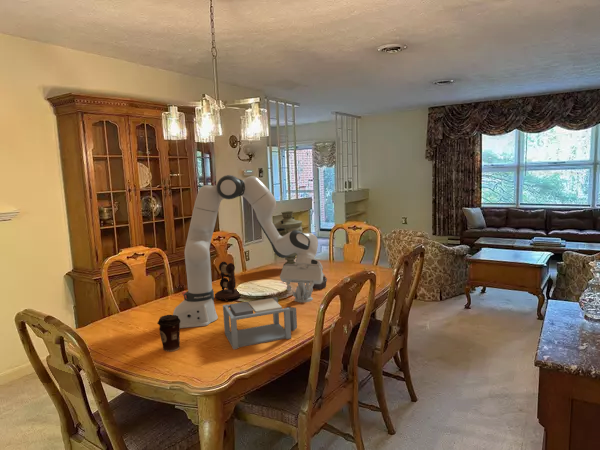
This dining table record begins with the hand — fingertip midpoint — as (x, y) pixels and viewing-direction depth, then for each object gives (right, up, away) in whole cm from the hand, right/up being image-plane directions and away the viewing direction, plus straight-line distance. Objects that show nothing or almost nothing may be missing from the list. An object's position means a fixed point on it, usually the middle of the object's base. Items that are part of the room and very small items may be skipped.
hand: (298, 290), depth 189 cm
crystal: (+3, -10, +33) cm, 34 cm away
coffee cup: (-50, -20, -23) cm, 59 cm away
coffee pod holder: (-38, -11, +41) cm, 57 cm away
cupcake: (+12, -7, +54) cm, 56 cm away
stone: (-3, -15, -8) cm, 17 cm away
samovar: (-4, -1, +100) cm, 100 cm away
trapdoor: (-18, -6, -15) cm, 24 cm away
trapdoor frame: (-17, -17, -14) cm, 28 cm away
